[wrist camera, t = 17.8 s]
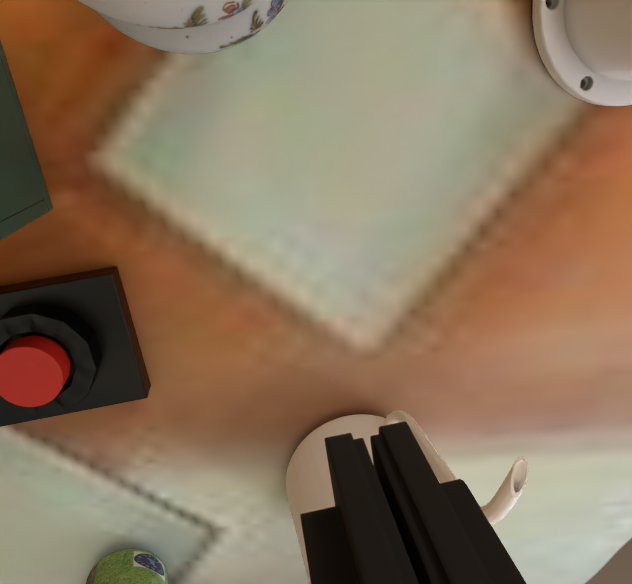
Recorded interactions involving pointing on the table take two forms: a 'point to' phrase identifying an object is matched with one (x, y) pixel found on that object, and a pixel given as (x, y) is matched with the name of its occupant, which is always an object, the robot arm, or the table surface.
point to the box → (17, 162)
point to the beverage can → (129, 569)
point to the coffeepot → (314, 476)
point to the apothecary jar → (188, 21)
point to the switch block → (77, 340)
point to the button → (33, 371)
